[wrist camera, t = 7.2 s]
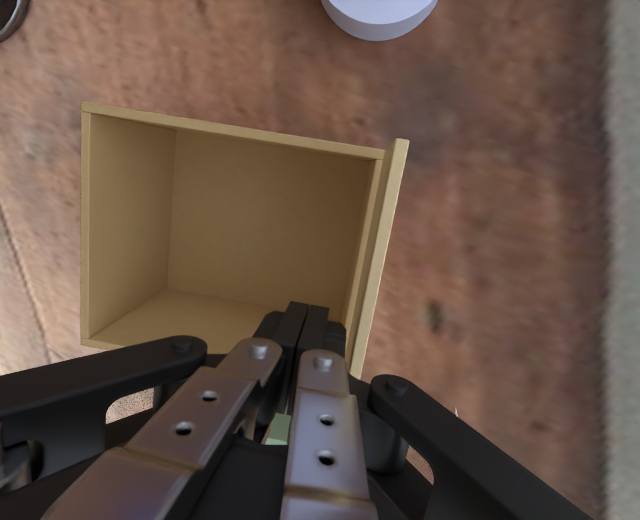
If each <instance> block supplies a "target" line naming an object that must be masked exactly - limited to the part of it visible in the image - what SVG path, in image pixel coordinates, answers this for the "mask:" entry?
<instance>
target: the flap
mask: <svg viewBox="0 0 640 520" xmlns="http://www.w3.org/2000/svg"><path fill="white" fill-rule="evenodd" d="M408 146H409V140H405V139H399V138H396V139H395V140H394V141H393V142H392V144H391V145H390V146H389V147H388V148H387V149H386V150H385V152H384V157H383V162H382V167H381V172H380V177H379V183H378V188H377V193H376V198H375V203H374V208H373V214H372V219H371V224H370V229H369V234H368V240H367V245H366V250H365V255H364V260H363V265H362V271H361V276H360V281H359V286H358V291H357V296H356V302H355V307H354V312H353V317H352V322H351V328H350V333H349V338H348V343H347V348H346V353H345V361H346V363H347V370H348V372H349V373H350V374H351V375H352V376H354V377H355V378H357V379H359V380H360V377H361V372H362V367H363V363H364V358H365V353H366V348H367V343H368V338H369V334H370V329H371V324H372V319H373V314H374V310H375V305H376V300H377V295H378V290H379V285H380V281H381V276H382V271H383V266H384V261H385V257H386V252H387V247H388V242H389V237H390V232H391V228H392V223H393V218H394V213H395V208H396V204H397V199H398V194H399V189H400V184H401V179H402V175H403V170H404V165H405V160H406V155H407V151H408Z"/></svg>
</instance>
